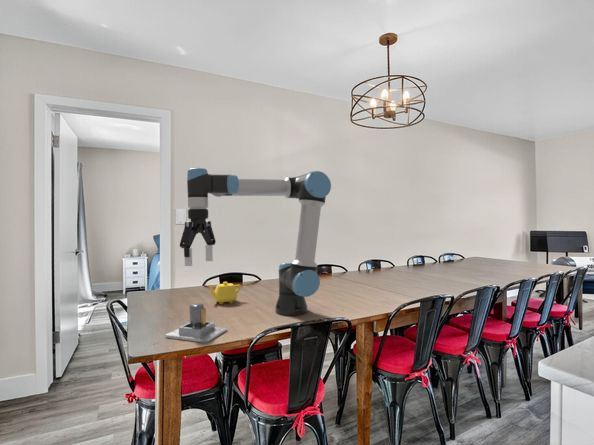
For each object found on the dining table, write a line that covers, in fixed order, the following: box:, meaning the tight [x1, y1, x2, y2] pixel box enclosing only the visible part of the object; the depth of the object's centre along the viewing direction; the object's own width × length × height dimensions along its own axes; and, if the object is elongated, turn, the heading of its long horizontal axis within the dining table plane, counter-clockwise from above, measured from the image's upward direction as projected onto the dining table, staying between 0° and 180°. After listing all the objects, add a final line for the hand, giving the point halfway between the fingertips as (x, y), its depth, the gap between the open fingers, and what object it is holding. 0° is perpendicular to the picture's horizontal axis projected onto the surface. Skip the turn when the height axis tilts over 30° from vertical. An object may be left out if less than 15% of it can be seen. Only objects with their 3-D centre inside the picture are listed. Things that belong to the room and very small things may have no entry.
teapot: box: [206, 281, 242, 305], centre depth 175 cm, size 18×11×11 cm, turn 110°
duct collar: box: [164, 320, 228, 344], centre depth 126 cm, size 18×14×4 cm
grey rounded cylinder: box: [189, 302, 207, 329], centre depth 126 cm, size 5×6×10 cm
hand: (199, 263), depth 128 cm, fingers open, 13 cm apart
